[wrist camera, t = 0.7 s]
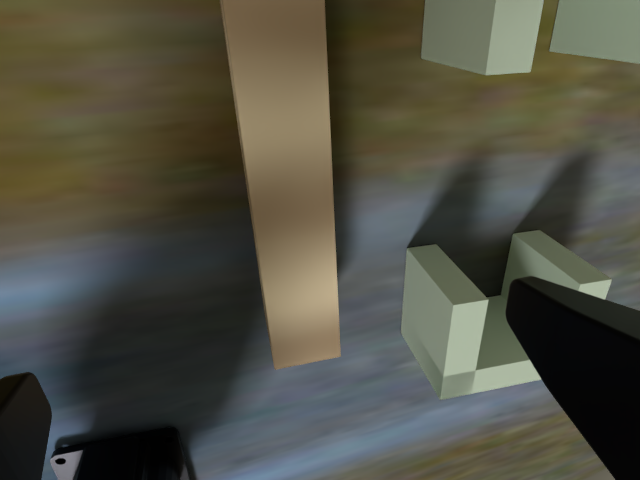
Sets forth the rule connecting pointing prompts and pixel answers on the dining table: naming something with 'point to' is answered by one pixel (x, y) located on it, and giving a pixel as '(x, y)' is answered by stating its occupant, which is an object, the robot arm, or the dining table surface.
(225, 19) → the slat
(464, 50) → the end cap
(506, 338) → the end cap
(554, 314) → the robot arm
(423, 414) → the dining table surface
